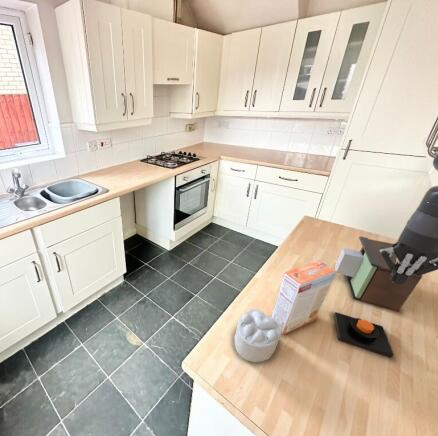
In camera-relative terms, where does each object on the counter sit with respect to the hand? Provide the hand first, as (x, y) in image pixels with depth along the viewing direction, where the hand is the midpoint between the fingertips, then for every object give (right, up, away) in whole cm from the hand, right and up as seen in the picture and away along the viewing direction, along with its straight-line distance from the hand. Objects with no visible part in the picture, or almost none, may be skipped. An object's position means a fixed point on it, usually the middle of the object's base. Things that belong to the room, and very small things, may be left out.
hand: (395, 282), depth 67 cm
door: (+5, -7, +23) cm, 24 cm away
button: (-5, -15, +4) cm, 16 cm away
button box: (-5, -18, +6) cm, 19 cm away
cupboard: (+13, -9, +22) cm, 27 cm away
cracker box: (-22, -16, +11) cm, 29 cm away
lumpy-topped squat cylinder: (-38, -20, +4) cm, 43 cm away
